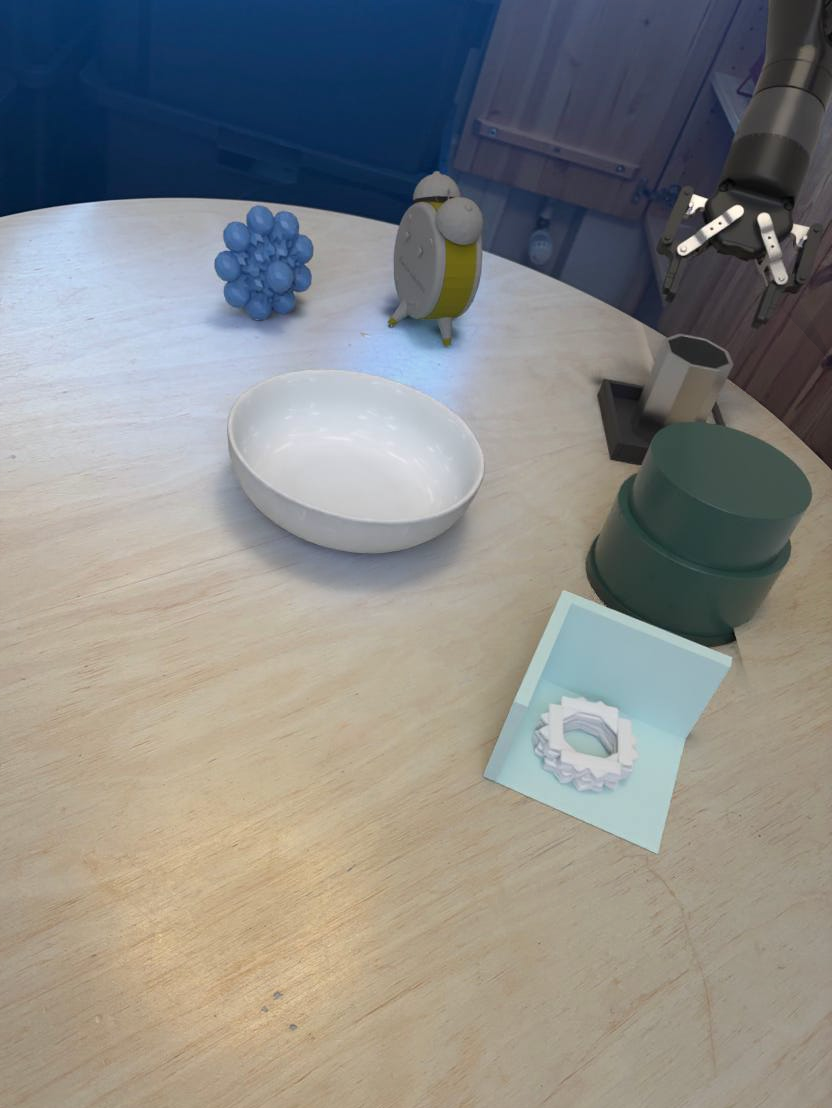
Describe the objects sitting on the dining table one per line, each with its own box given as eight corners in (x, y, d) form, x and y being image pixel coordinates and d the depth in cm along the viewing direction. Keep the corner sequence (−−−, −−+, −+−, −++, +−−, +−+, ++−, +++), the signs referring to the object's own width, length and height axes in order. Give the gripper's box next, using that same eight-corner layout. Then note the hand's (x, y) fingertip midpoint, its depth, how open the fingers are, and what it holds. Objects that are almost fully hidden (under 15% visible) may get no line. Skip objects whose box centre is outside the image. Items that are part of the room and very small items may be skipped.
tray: (708, 415, 105) (715, 399, 103) (731, 481, 96) (740, 464, 95) (597, 394, 104) (603, 378, 103) (610, 459, 95) (617, 442, 94)
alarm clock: (463, 352, 106) (500, 212, 96) (406, 353, 104) (437, 210, 93) (423, 300, 113) (454, 165, 103) (369, 300, 111) (394, 162, 101)
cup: (687, 420, 102) (724, 341, 96) (698, 455, 98) (737, 374, 91) (628, 409, 102) (661, 329, 96) (636, 443, 97) (671, 361, 91)
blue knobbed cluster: (231, 347, 99) (241, 229, 90) (199, 316, 102) (206, 199, 94) (327, 330, 104) (345, 217, 96) (294, 301, 108) (308, 189, 100)
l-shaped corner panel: (482, 776, 65) (513, 700, 59) (531, 664, 73) (563, 589, 68) (657, 854, 62) (706, 782, 57) (687, 729, 71) (732, 657, 66)
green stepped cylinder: (735, 546, 88) (799, 432, 80) (773, 660, 78) (851, 544, 69) (578, 517, 87) (625, 400, 79) (595, 629, 77) (651, 508, 69)
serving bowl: (278, 610, 73) (289, 538, 68) (187, 449, 85) (191, 379, 80) (511, 564, 81) (535, 497, 76) (397, 424, 94) (412, 358, 89)
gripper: (707, 111, 92) (648, 274, 91) (859, 153, 90) (799, 319, 90) (689, 155, 99) (634, 305, 99) (829, 194, 97) (774, 348, 97)
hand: (713, 312), depth 94 cm, fingers open, 8 cm apart
